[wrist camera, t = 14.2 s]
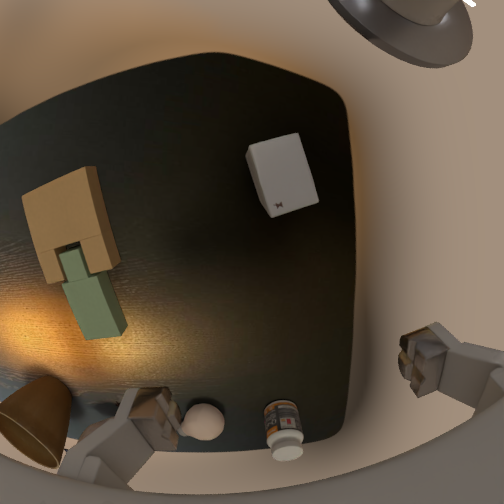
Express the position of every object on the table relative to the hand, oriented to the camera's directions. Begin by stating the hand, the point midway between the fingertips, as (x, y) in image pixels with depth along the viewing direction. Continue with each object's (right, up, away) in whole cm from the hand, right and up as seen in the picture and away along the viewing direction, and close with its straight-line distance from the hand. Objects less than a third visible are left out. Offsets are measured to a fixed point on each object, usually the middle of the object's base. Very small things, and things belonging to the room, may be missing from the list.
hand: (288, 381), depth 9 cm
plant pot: (-40, -23, +34) cm, 57 cm away
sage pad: (-24, -1, +28) cm, 36 cm away
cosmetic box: (+1, +14, +25) cm, 28 cm away
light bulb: (-10, -24, +35) cm, 44 cm away
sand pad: (-25, +7, +25) cm, 36 cm away
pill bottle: (+4, -23, +35) cm, 42 cm away
